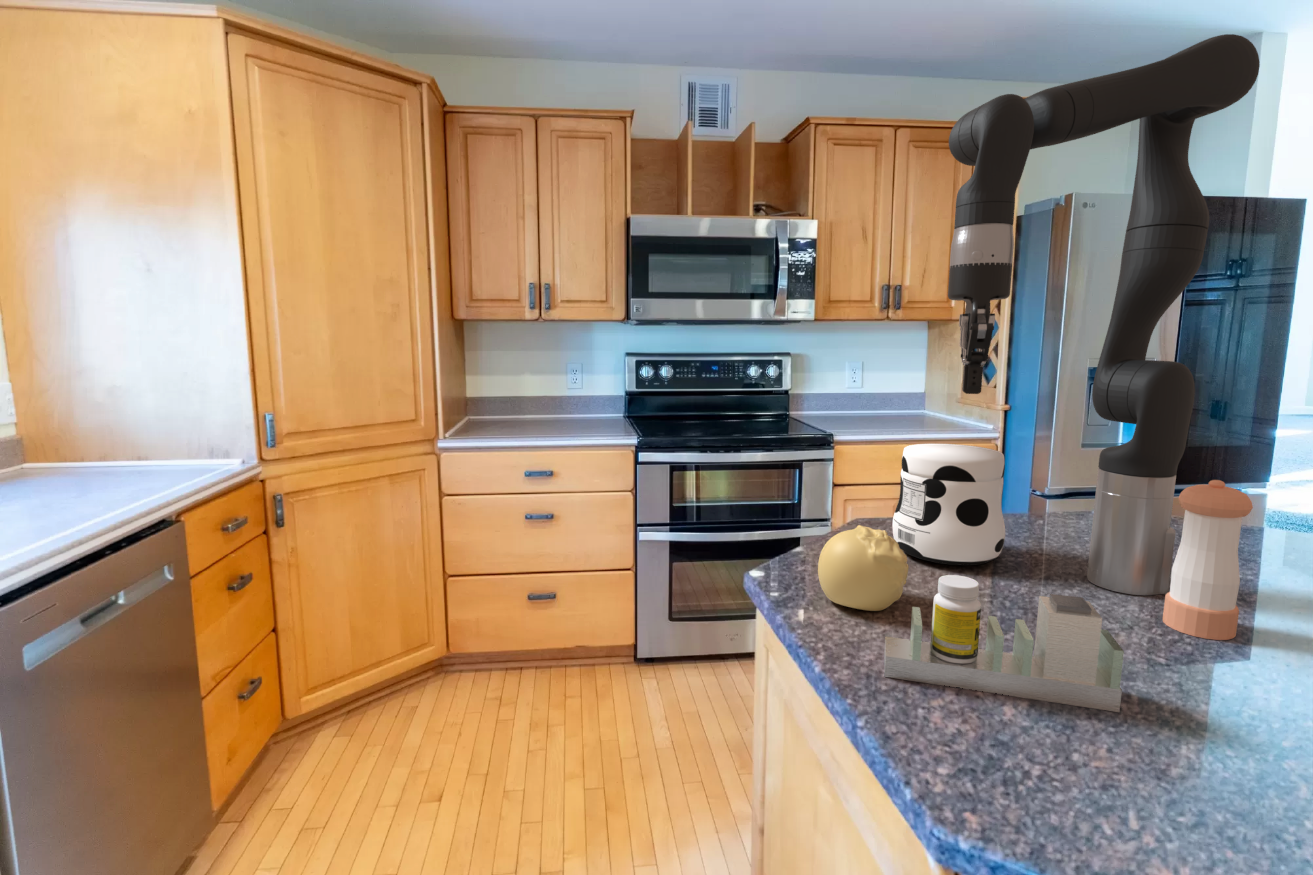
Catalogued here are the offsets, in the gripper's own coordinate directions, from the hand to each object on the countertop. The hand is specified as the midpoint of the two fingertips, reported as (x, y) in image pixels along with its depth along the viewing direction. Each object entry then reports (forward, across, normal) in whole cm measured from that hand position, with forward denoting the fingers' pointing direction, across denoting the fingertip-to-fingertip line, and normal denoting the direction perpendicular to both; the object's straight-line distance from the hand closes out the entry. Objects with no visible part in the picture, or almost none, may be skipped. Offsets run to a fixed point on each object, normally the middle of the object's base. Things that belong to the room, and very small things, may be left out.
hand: (971, 393), depth 91 cm
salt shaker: (+29, -2, -28) cm, 41 cm away
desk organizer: (+29, -25, -1) cm, 38 cm away
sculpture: (+29, -7, +13) cm, 33 cm away
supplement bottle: (+27, -25, +3) cm, 37 cm away
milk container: (+29, +18, 0) cm, 34 cm away
